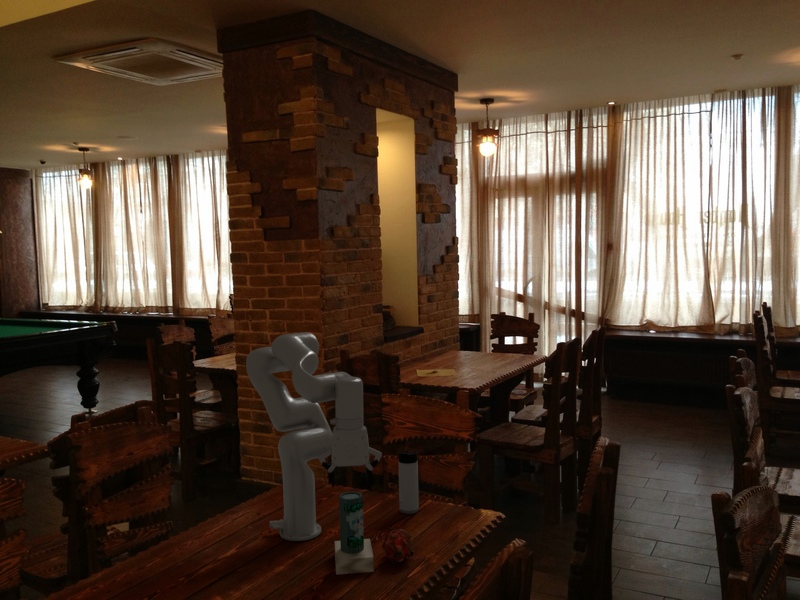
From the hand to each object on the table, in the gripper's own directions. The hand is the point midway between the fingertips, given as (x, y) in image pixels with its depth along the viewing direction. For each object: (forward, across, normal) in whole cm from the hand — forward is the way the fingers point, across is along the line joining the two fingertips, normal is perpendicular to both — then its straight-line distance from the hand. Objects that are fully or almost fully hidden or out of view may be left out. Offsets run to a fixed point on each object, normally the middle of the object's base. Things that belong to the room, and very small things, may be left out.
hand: (350, 484), depth 190 cm
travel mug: (+23, +21, +34) cm, 46 cm away
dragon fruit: (+22, +13, 0) cm, 26 cm away
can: (+18, 0, -1) cm, 18 cm away
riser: (+22, 0, -1) cm, 22 cm away
